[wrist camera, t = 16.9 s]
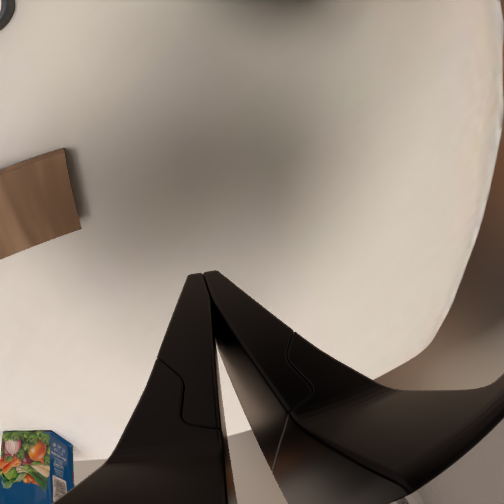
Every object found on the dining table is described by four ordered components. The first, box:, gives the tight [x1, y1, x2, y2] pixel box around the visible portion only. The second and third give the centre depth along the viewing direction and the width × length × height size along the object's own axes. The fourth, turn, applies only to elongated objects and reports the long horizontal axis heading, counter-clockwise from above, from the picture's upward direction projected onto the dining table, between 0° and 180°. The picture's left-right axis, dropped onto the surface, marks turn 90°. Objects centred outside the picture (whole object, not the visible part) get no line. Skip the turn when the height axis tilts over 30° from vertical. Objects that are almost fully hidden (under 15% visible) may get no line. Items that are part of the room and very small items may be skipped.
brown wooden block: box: [0, 148, 81, 260], centre depth 14 cm, size 2×5×8 cm
